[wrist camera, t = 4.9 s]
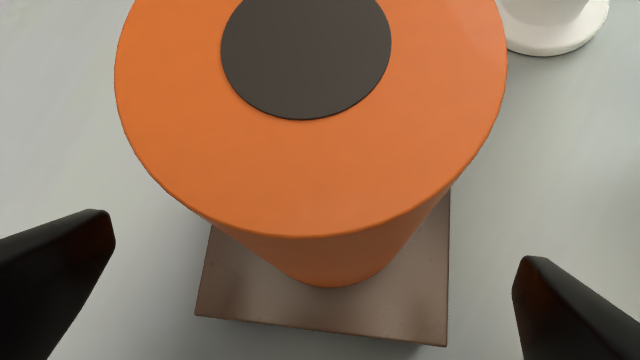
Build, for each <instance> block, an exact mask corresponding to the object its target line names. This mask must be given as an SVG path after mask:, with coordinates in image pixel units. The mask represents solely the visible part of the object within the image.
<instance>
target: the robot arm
mask: <svg viewBox="0 0 640 360" xmlns="http://www.w3.org/2000/svg"><path fill="white" fill-rule="evenodd" d="M115 245H116V240H115V235H114V231H113V227H112V223H111V218H110V215H109V214H108V212H106V211H104V210H96V209H86V210H83V211H80V212H77V213H75V214H72V215H69V216H66V217H63V218H60V219H57V220H54V221H51V222H49V223H46V224H43V225H40V226H37V227H34V228H31V229H28V230H26V231H23V232H20V233H17V234H14V235H11V236H8V237H5V238H2V239H0V360H47V358H48V357H49V355H50V354H51V353H52V351H53V350H54V348H55V347H56V345H57V344H58V342H59V341H60V340H61V338H62V337H63V335H64V334H65V332H66V331H67V330H68V328H69V327H70V325H71V324H72V322H73V321H74V319H75V318H76V317H77V315H78V313H79V312H80V310H81V309H82V307H83V306H84V304H85V302H86V301H87V299H88V297H89V295H90V294H91V292H92V290H93V288H94V286H95V285H96V283H97V281H98V279H99V277H100V276H101V274H102V272H103V270H104V268H105V267H106V265H107V263H108V261H109V259H110V258H111V256H112V254H113V252H114V249H115ZM512 301H513V306H514V311H515V316H516V321H517V326H518V331H519V336H520V342H521V347H522V352H523V356H524V360H640V323H639V322H637V321H636V320H634V319H633V318H632V317H630V316H629V315H627V314H626V313H624V312H623V311H622V310H620V309H619V308H617V307H616V306H614V305H613V304H612V303H610V302H609V301H607V300H606V299H604V298H603V297H602V296H600V295H599V294H597V293H596V292H594V291H593V290H592V289H590V288H589V287H587V286H586V285H584V284H583V283H582V282H580V281H579V280H577V279H576V278H574V277H573V276H572V275H570V274H569V273H567V272H566V271H564V270H563V269H562V268H560V267H559V266H557V265H556V264H554V263H553V262H552V261H550V260H549V259H547V258H545V257H538V256H528V255H527V256H524V257H523V258H522V259H521V262H520V264H519V267H518V270H517V273H516V276H515V279H514V282H513V286H512Z"/></svg>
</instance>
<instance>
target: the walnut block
mask: <svg viewBox="0 0 640 360" xmlns="http://www.w3.org/2000/svg"><path fill="white" fill-rule="evenodd" d="M450 191H451V187H450V188H449V190H448V191H447V192H446V193H445V195H444V196H443V197H442V198H441V200H440V201H439V202H438V203H437V204H436V206H435V207H434V208H433V209H432V211H431V212H430V213H429V214H428V216H427V217H426V218H425V219H424V221H423V222H422V223H421V224H420V225H419V227H418V228H417V229H416V230H415V232H414V233H413V234H412V235H411V237H410V238H409V239H408V240H407V242H406V243H405V244H404V245H403V247H402V248H401V249H400V250H399V251H398V253H397V254H396V255H395V256H394V258H393V259H392V260H391V261H390V262H389V263H388V264H387V265H386V266H385V267H384V268H383V269H382V270H380V271H379V272H378V273H376V274H375V275H373V276H372V277H370V278H368V279H366V280H364V281H362V282H359V283H356V284H353V285H350V286H344V287H333V288H326V287H317V286H313V285H309V284H305V283H303V282H300V281H298V280H295V279H294V278H292V277H290V276H288V275H287V274H285V273H284V272H282V271H281V270H279V269H278V268H276V267H275V266H273V265H272V264H270V263H269V262H267V261H266V260H264V259H263V258H261V257H260V256H258V255H257V254H255V253H254V252H252V251H251V250H249V249H248V248H246V247H245V246H243V245H242V244H240V243H239V242H237V241H236V240H235V239H233V238H232V237H230V236H229V235H227V234H226V233H224V232H223V231H221V230H220V229H218V228H217V227H215V226H214V225H212V226H211V231H210V236H209V241H208V246H207V251H206V256H205V261H204V266H203V271H202V276H201V281H200V286H199V291H198V296H197V301H196V306H195V311H194V315H196V316H202V317H209V318H217V319H225V320H233V321H241V322H249V323H257V324H265V325H272V326H280V327H288V328H296V329H304V330H312V331H320V332H327V333H335V334H343V335H351V336H359V337H367V338H375V339H383V340H390V341H398V342H406V343H414V344H422V345H430V346H438V347H447V336H448V288H449V240H450Z"/></svg>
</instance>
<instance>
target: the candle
mask: <svg viewBox="0 0 640 360" xmlns="http://www.w3.org/2000/svg"><path fill="white" fill-rule="evenodd" d="M495 3H496V5H497V8H498V11H499V14H500V16H501V19H502V23H503V28H504V33H505V38H506V43H507V49H510V50H512V51H515V52H518V53H522V54H526V55H532V56H554V55H560V54H564V53H567V52H570V51H573V50H575V49H577V48H579V47H581V46H582V45H584V44H585V43H587V42H588V41H589V40H590V39H591V38H592V37H593V36H594V35H595V34H596V33H597V32H598V30H599V29H600V28H601V26H602V25H603V23H604V21H605V19H606V17H607V14H608V10H609V0H495Z"/></svg>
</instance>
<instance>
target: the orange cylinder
mask: <svg viewBox="0 0 640 360" xmlns="http://www.w3.org/2000/svg"><path fill="white" fill-rule="evenodd" d="M507 68H508V64H507V43H506V38H505V33H504V28H503V23H502V19H501V16H500V14H499V11H498V8H497V5H496V3H495V0H135V2H134V4H133V5H132V7H131V10H130V12H129V14H128V16H127V18H126V21H125V23H124V25H123V29H122V32H121V35H120V39H119V42H118V45H117V52H116V59H115V65H114V90H115V97H116V103H117V110H118V114H119V117H120V120H121V123H122V126H123V130H124V133H125V135H126V137H127V139H128V141H129V143H130V145H131V147H132V149H133V151H134V153H135V155H136V156H137V158H138V159H139V161H140V162H141V163H142V165H143V166H144V168H145V169H146V170H147V172H148V173H149V175H150V176H151V177H152V178H153V179H154V180H155V181H156V182H157V183H158V184H159V185H160V186H161V187H162V188H163V189H164V190H165V191H166V192H167V193H168V194H170V195H171V196H172V197H174V198H175V199H176V200H178V201H179V202H180V203H182V204H183V205H184V206H186V207H187V208H188V209H190V210H191V211H193V212H194V213H196V214H197V215H199V216H200V217H202V218H203V219H205V220H206V221H208V222H209V223H211V224H212V225H214V226H215V227H217V228H218V229H220V230H221V231H223V232H224V233H226V234H227V235H229V236H230V237H232V238H233V239H235V240H236V241H237V242H239V243H240V244H242V245H243V246H245V247H246V248H248V249H249V250H251V251H252V252H254V253H255V254H257V255H258V256H260V257H261V258H263V259H264V260H266V261H267V262H269V263H270V264H272V265H273V266H275V267H276V268H278V269H279V270H281V271H282V272H284V273H285V274H287V275H288V276H290V277H292V278H294V279H295V280H298V281H300V282H303V283H305V284H309V285H313V286H317V287H326V288H333V287H344V286H350V285H353V284H356V283H359V282H362V281H364V280H366V279H368V278H370V277H372V276H373V275H375V274H376V273H378V272H379V271H380V270H382V269H383V268H384V267H385V266H386V265H387V264H388V263H389V262H390V261H391V260H392V259H393V258H394V256H395V255H396V254H397V253H398V251H399V250H400V249H401V248H402V247H403V245H404V244H405V243H406V242H407V240H408V239H409V238H410V237H411V235H412V234H413V233H414V232H415V230H416V229H417V228H418V227H419V225H420V224H421V223H422V222H423V221H424V219H425V218H426V217H427V216H428V214H429V213H430V212H431V211H432V209H433V208H434V207H435V206H436V204H437V203H438V202H439V201H440V200H441V198H442V197H443V196H444V195H445V193H446V192H447V191H448V190H449V188H450V187H451V186H452V185H453V183H454V182H455V181H456V180H457V179H458V177H459V176H460V175H461V174H462V172H463V171H464V170H465V169H466V167H467V166H468V165H469V164H470V162H471V161H472V160H473V159H474V157H475V156H476V154H477V153H478V151H479V150H480V148H481V147H482V145H483V143H484V142H485V140H486V139H487V137H488V135H489V133H490V131H491V129H492V127H493V124H494V122H495V120H496V118H497V116H498V113H499V110H500V106H501V103H502V99H503V95H504V92H505V85H506V77H507Z"/></svg>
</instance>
